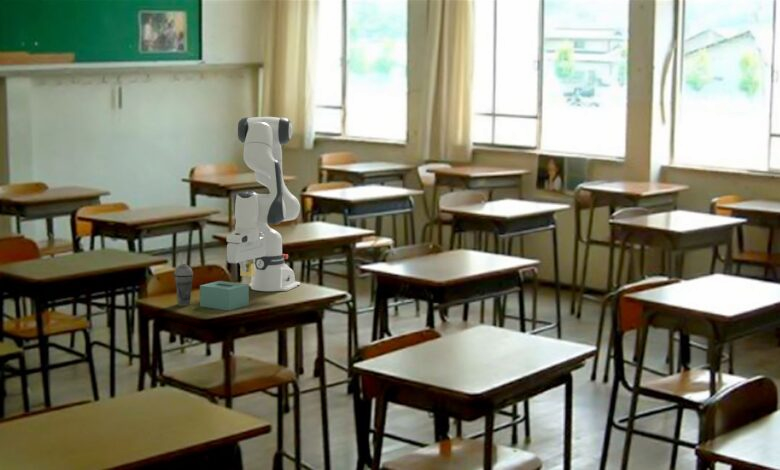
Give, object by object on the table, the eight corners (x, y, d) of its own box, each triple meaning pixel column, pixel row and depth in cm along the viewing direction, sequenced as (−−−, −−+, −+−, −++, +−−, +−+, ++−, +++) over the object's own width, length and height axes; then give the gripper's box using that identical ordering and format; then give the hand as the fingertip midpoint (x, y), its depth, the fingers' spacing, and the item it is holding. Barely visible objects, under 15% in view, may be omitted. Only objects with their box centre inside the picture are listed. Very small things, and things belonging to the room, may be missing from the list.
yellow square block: (243, 274, 452) (243, 261, 451) (254, 276, 450) (254, 263, 449) (240, 275, 450) (240, 262, 450) (251, 277, 448) (251, 263, 447)
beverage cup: (191, 306, 458) (191, 254, 455) (172, 306, 458) (171, 254, 455) (195, 302, 465) (194, 251, 462) (176, 302, 465) (175, 251, 462)
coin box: (219, 300, 469) (219, 280, 468) (248, 305, 462) (248, 284, 461) (200, 306, 459) (199, 285, 458) (229, 310, 452) (229, 289, 451)
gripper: (256, 230, 458) (257, 266, 460) (223, 237, 440) (223, 275, 443) (270, 232, 455) (270, 268, 457) (237, 239, 437) (237, 276, 440)
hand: (247, 271), depth 450 cm, fingers closed on yellow square block, 2 cm apart
